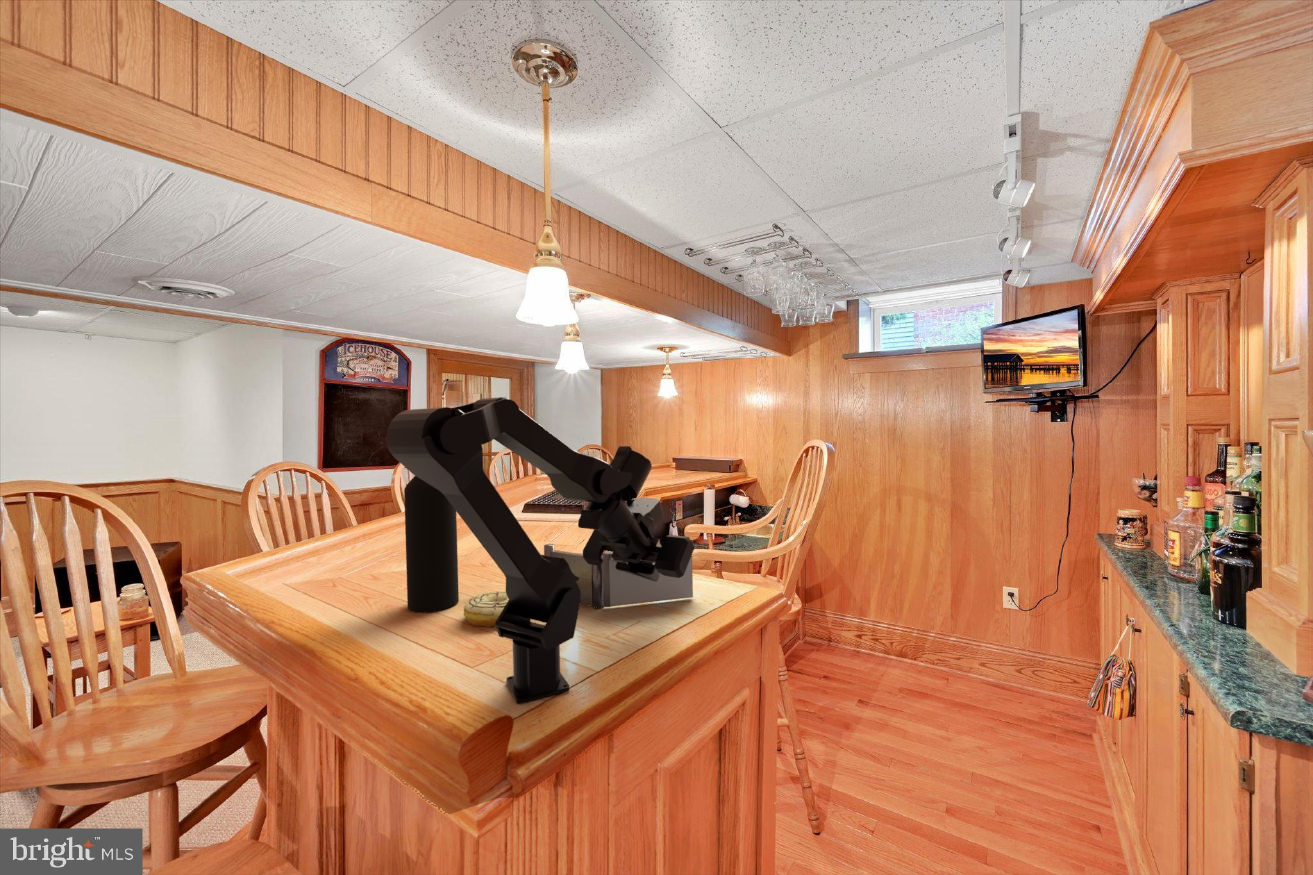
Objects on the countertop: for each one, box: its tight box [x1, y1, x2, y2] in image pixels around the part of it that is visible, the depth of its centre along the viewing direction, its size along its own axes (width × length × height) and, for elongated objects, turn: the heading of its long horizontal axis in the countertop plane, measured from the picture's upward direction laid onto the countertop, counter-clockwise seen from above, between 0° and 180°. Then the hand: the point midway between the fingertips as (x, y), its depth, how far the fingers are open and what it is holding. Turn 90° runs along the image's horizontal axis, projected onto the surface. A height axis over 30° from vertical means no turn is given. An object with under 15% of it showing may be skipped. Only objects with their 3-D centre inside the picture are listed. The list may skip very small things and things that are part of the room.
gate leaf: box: [602, 551, 694, 608], centre depth 95 cm, size 17×2×10 cm, turn 106°
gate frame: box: [543, 543, 605, 610], centre depth 97 cm, size 14×2×10 cm, turn 57°
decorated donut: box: [463, 591, 509, 628], centre depth 90 cm, size 10×11×4 cm
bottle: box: [403, 475, 460, 613], centre depth 97 cm, size 9×9×28 cm
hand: (656, 578), depth 88 cm, fingers closed
